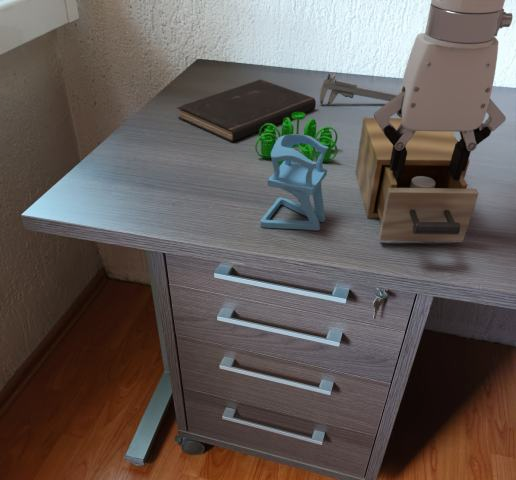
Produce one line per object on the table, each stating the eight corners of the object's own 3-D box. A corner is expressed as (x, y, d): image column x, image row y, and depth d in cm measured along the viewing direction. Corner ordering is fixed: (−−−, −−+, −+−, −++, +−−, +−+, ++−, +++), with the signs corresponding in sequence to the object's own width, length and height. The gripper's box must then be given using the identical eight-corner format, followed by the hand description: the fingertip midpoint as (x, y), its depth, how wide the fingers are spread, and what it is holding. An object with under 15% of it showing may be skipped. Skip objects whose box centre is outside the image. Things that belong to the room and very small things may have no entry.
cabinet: (452, 219, 78) (469, 160, 71) (367, 218, 78) (377, 159, 71) (430, 173, 88) (444, 118, 82) (355, 172, 88) (363, 117, 82)
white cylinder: (424, 208, 76) (432, 176, 73) (429, 220, 74) (438, 187, 70) (402, 208, 76) (409, 175, 73) (406, 219, 74) (414, 187, 70)
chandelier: (351, 147, 95) (356, 108, 90) (316, 181, 86) (320, 140, 81) (278, 130, 100) (279, 92, 95) (238, 161, 91) (237, 120, 86)
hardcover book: (178, 118, 104) (177, 106, 102) (260, 90, 116) (260, 79, 114) (233, 143, 96) (232, 130, 94) (315, 110, 108) (316, 98, 106)
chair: (313, 239, 74) (321, 157, 65) (259, 226, 76) (260, 145, 67) (330, 213, 79) (339, 133, 70) (278, 202, 81) (281, 123, 73)
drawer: (472, 262, 68) (490, 212, 63) (385, 261, 69) (396, 211, 63) (439, 193, 82) (452, 147, 76) (366, 192, 82) (374, 146, 76)
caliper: (319, 106, 109) (322, 73, 105) (319, 104, 110) (321, 72, 106) (416, 105, 110) (423, 72, 106) (415, 103, 111) (421, 71, 106)
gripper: (528, 16, 61) (481, 163, 73) (378, 15, 61) (357, 162, 73) (553, 35, 55) (498, 189, 68) (388, 33, 56) (364, 188, 68)
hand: (425, 174), depth 71 cm, fingers open, 7 cm apart
